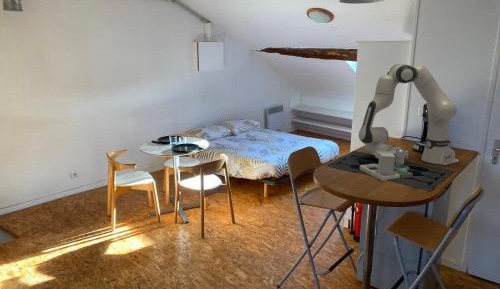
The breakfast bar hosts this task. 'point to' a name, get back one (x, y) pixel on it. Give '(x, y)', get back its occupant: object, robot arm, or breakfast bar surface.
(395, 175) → the white open frame
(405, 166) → the tray
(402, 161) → the cylinder
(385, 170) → the supplement box
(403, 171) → the button
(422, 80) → the robot arm
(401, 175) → the button housing
